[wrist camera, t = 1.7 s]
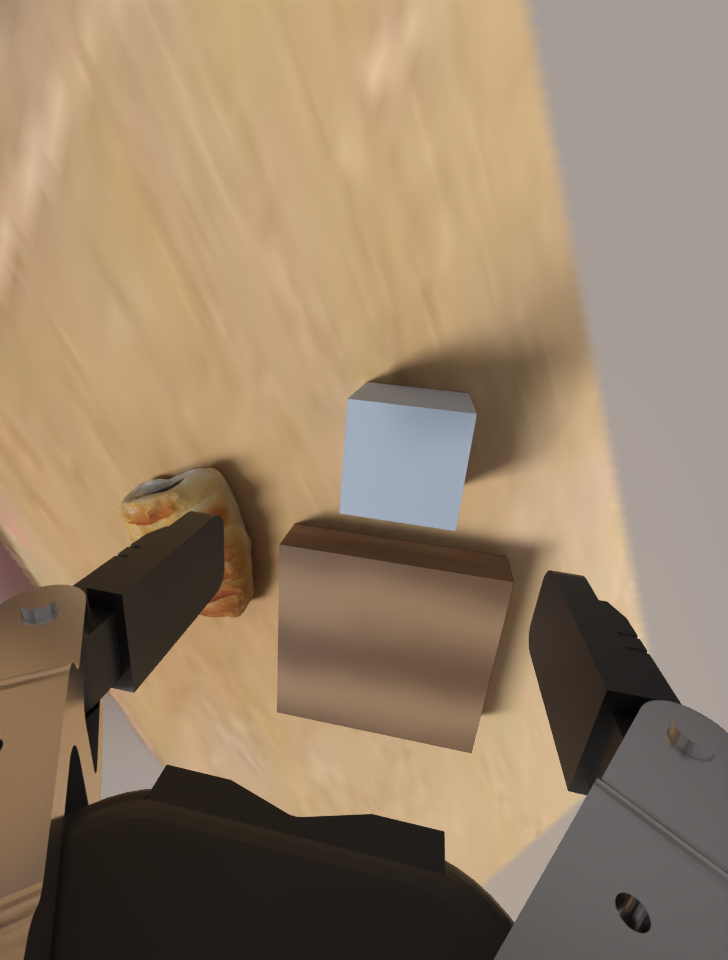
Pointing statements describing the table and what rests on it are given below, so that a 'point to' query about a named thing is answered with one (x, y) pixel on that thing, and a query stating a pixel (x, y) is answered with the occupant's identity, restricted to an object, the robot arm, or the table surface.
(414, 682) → the walnut base
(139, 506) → the pastry
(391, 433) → the blue cube
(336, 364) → the table surface
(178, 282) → the table surface
